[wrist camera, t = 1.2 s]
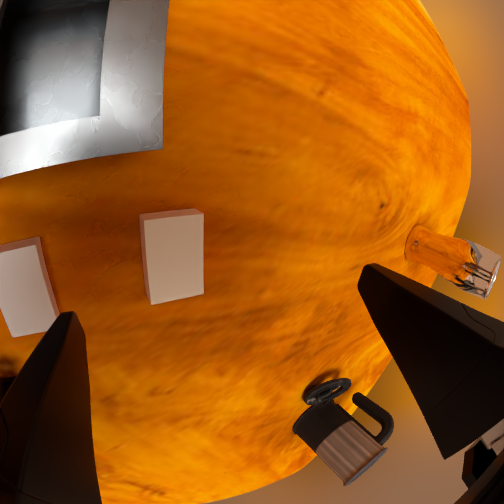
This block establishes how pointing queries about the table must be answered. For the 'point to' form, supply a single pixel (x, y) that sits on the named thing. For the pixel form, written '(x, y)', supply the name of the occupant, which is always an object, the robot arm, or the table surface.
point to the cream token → (172, 254)
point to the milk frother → (342, 430)
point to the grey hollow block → (79, 80)
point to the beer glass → (454, 260)
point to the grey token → (26, 288)
